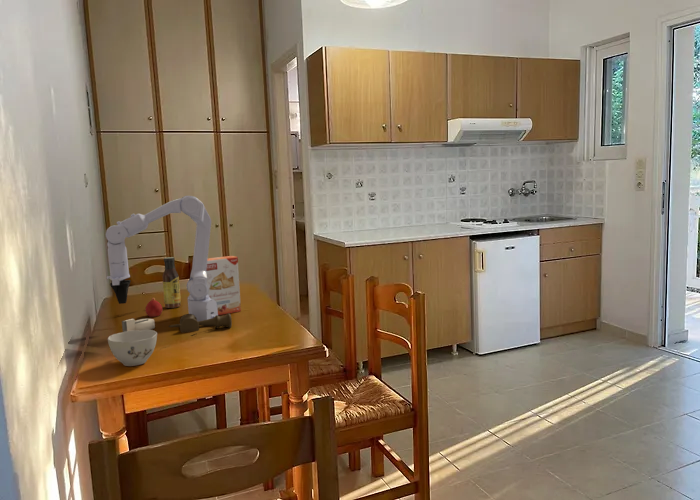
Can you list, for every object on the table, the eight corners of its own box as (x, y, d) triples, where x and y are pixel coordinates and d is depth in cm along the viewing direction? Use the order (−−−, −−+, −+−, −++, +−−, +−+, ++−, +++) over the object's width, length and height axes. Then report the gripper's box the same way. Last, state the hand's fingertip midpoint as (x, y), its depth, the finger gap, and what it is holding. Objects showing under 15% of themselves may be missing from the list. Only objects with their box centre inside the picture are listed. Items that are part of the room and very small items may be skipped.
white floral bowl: (162, 365, 148) (159, 336, 147) (112, 374, 142) (108, 344, 141) (154, 350, 161) (152, 324, 160) (108, 358, 155) (105, 331, 154)
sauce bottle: (178, 308, 216) (173, 258, 213) (162, 309, 216) (157, 259, 213) (183, 304, 222) (179, 256, 220) (168, 305, 222) (163, 256, 220)
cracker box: (206, 318, 198) (201, 260, 195) (200, 315, 202) (195, 259, 200) (242, 311, 206) (238, 256, 203) (235, 308, 211) (231, 254, 208)
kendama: (233, 332, 179) (169, 339, 173) (230, 326, 188) (169, 332, 182) (232, 314, 179) (168, 320, 172) (229, 308, 188) (167, 314, 182)
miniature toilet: (147, 324, 187) (146, 313, 186) (159, 327, 182) (157, 315, 182) (118, 332, 179) (117, 320, 178) (129, 335, 174) (128, 322, 174)
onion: (142, 320, 198) (140, 299, 197) (155, 316, 204) (153, 295, 203) (154, 322, 196) (152, 300, 195) (166, 318, 201) (164, 296, 200)
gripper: (110, 260, 185) (114, 299, 186) (99, 266, 171) (104, 309, 172) (132, 258, 186) (136, 297, 188) (123, 264, 172) (128, 307, 174)
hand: (122, 303), depth 180 cm, fingers closed
